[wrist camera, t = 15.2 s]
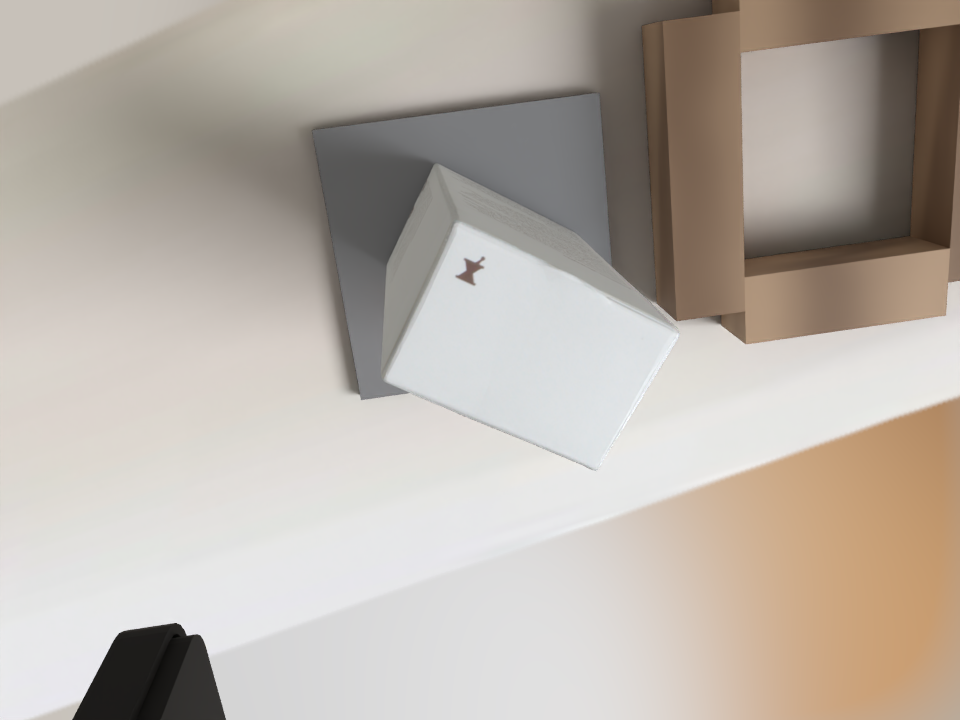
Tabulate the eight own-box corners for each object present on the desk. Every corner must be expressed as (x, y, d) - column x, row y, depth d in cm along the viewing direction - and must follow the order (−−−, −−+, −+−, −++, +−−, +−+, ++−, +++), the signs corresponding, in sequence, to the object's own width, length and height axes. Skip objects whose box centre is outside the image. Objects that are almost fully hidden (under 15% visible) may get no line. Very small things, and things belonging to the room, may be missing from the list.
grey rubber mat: (596, 92, 29) (599, 92, 29) (615, 358, 33) (618, 362, 32) (313, 129, 29) (312, 130, 29) (361, 395, 32) (361, 400, 32)
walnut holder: (993, -59, 29) (1045, -71, 27) (968, 289, 33) (1011, 305, 31) (639, -14, 28) (660, -22, 26) (658, 334, 32) (678, 354, 30)
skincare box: (383, 267, 30) (369, 379, 19) (434, 159, 29) (452, 210, 18) (530, 336, 32) (599, 479, 20) (584, 235, 30) (689, 327, 19)
